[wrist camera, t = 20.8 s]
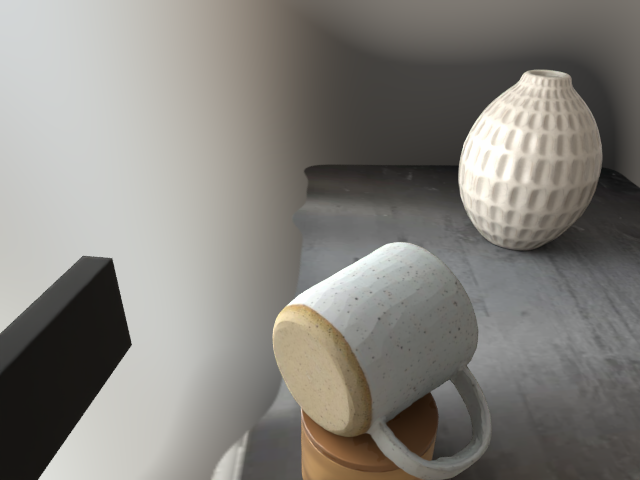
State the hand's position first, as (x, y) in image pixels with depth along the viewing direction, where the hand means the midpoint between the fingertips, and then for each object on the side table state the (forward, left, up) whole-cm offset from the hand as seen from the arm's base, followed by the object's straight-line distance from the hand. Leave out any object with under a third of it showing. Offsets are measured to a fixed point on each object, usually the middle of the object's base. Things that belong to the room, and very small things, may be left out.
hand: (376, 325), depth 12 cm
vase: (+32, -28, -18) cm, 46 cm away
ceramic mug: (+9, -5, -13) cm, 17 cm away
